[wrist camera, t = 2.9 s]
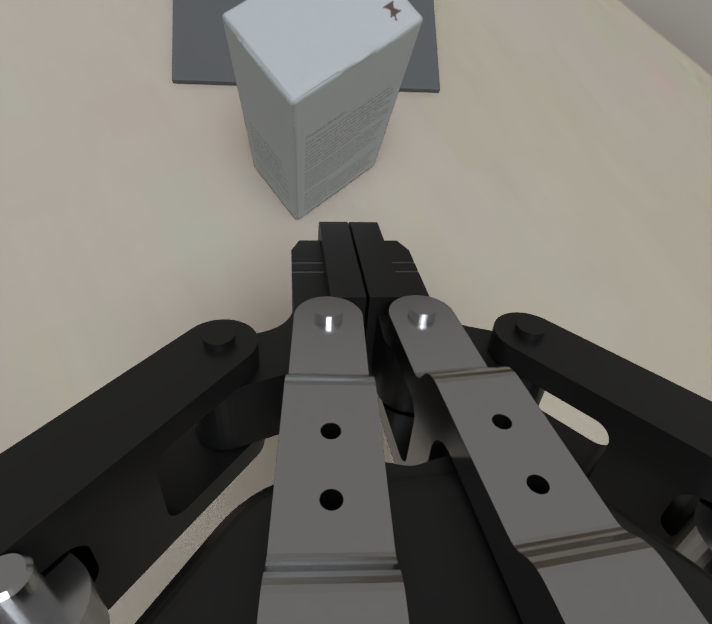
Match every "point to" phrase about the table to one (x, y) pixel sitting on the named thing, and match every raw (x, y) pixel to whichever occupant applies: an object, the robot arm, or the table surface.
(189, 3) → the mat
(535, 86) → the table surface
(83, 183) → the table surface
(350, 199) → the table surface
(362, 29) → the skincare box
